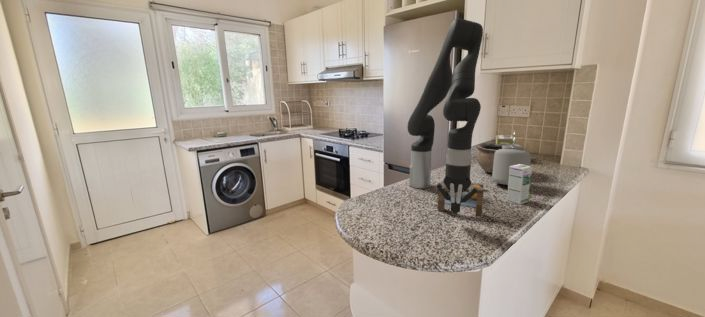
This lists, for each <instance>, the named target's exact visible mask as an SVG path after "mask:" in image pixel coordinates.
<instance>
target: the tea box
mask: <svg viewBox="0 0 705 317" xmlns="http://www.w3.org/2000/svg"><path fill="white" fill-rule="evenodd" d="M511 137H512V138H511ZM513 139H514V134H513V135H512V134H510V135H509V134H508V135H507V134H496V135H495V145H499V144H500V143H501V142H503V143H510V145H512V144H516V138H515V139H514V140H513Z"/></svg>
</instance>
